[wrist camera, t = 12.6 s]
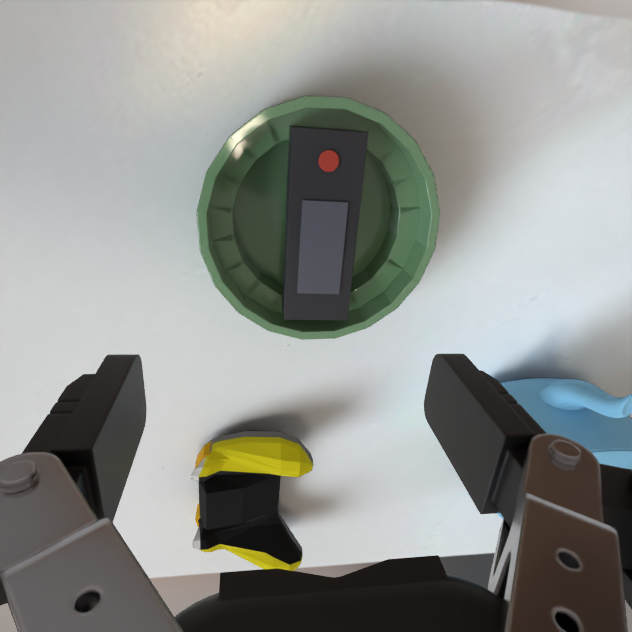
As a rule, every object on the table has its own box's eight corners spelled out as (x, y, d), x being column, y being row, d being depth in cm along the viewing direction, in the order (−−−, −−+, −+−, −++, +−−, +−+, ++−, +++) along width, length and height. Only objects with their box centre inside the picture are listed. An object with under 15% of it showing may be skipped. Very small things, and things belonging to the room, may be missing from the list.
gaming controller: (309, 413, 39) (195, 413, 38) (317, 456, 34) (186, 458, 33) (297, 530, 45) (198, 535, 44) (302, 581, 40) (191, 588, 39)
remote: (289, 125, 27) (292, 126, 24) (359, 130, 27) (369, 132, 25) (281, 305, 32) (283, 321, 29) (341, 306, 32) (348, 321, 30)
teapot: (608, 320, 39) (735, 393, 29) (556, 472, 47) (641, 574, 36) (478, 323, 38) (563, 402, 27) (445, 480, 45) (502, 589, 35)
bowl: (159, 190, 30) (142, 204, 25) (342, 47, 28) (359, 34, 23) (289, 343, 36) (294, 376, 32) (447, 237, 34) (477, 255, 29)
